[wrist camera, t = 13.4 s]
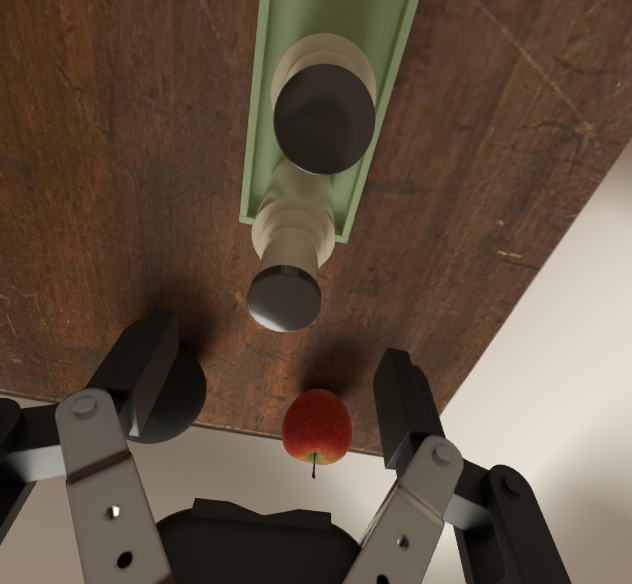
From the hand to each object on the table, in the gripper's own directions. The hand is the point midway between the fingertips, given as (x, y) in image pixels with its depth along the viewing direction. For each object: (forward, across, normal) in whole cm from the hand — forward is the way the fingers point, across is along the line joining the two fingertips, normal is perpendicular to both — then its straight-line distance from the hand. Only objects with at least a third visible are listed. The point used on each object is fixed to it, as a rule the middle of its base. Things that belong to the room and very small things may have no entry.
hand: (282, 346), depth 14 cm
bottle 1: (+19, 0, -7) cm, 20 cm away
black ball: (+19, +11, +24) cm, 32 cm away
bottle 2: (+18, 0, 0) cm, 19 cm away
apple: (+19, -7, +27) cm, 34 cm away
